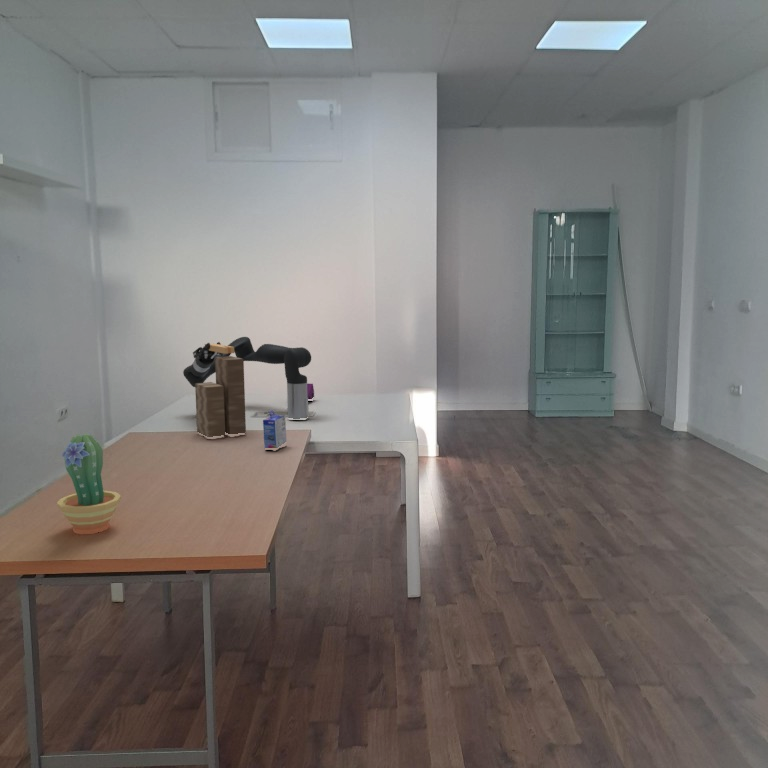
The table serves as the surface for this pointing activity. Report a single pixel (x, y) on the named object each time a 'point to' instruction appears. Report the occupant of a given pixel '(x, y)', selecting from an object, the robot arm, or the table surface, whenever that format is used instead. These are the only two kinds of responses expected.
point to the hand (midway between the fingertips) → (214, 344)
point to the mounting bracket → (310, 391)
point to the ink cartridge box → (274, 430)
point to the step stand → (222, 399)
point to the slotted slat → (221, 348)
